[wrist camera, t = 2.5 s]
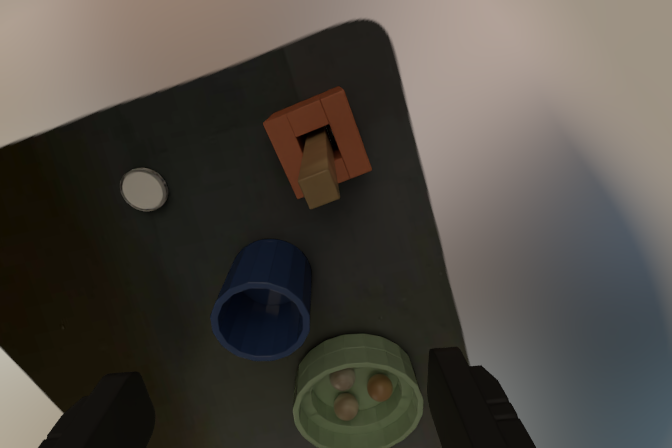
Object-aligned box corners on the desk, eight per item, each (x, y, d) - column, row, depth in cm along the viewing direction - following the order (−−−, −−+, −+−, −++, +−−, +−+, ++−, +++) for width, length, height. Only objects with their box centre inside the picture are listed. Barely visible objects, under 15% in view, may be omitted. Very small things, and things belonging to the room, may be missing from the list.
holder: (339, 85, 30) (343, 89, 25) (363, 153, 32) (372, 170, 27) (272, 113, 31) (262, 123, 25) (301, 177, 33) (297, 199, 28)
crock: (292, 227, 35) (285, 268, 28) (323, 291, 38) (324, 343, 31) (218, 255, 36) (192, 302, 29) (254, 315, 39) (239, 372, 32)
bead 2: (352, 384, 43) (354, 405, 40) (360, 400, 44) (363, 422, 42) (329, 391, 43) (330, 413, 41) (338, 407, 45) (339, 429, 42)
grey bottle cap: (113, 182, 32) (109, 184, 32) (146, 159, 32) (143, 161, 31) (145, 216, 34) (142, 219, 33) (177, 195, 33) (174, 197, 33)
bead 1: (349, 353, 41) (351, 373, 38) (357, 371, 42) (360, 392, 40) (325, 361, 41) (325, 382, 39) (334, 378, 43) (335, 400, 40)
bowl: (392, 314, 40) (401, 345, 35) (425, 397, 45) (437, 434, 41) (276, 352, 41) (271, 388, 37) (322, 428, 47) (322, 467, 42)
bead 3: (385, 364, 42) (390, 385, 39) (393, 382, 43) (398, 403, 40) (362, 372, 42) (365, 393, 40) (370, 389, 44) (373, 410, 41)
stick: (324, 122, 31) (328, 168, 17) (331, 139, 32) (340, 198, 17) (307, 128, 31) (297, 180, 17) (314, 145, 32) (310, 210, 17)
